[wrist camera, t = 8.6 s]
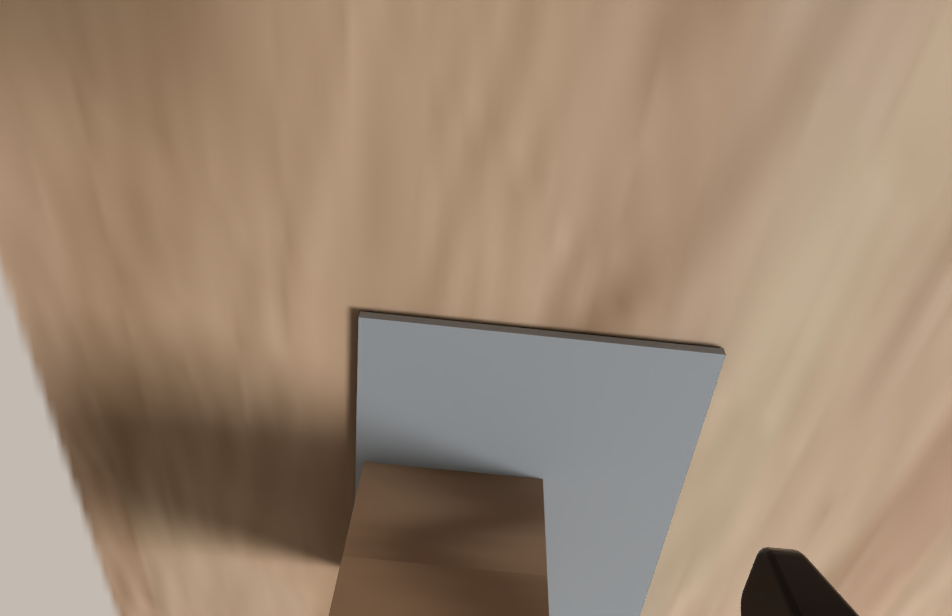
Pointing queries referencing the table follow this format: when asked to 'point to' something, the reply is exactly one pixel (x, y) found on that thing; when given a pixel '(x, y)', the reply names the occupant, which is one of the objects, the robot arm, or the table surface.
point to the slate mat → (546, 434)
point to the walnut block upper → (434, 590)
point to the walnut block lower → (448, 519)
